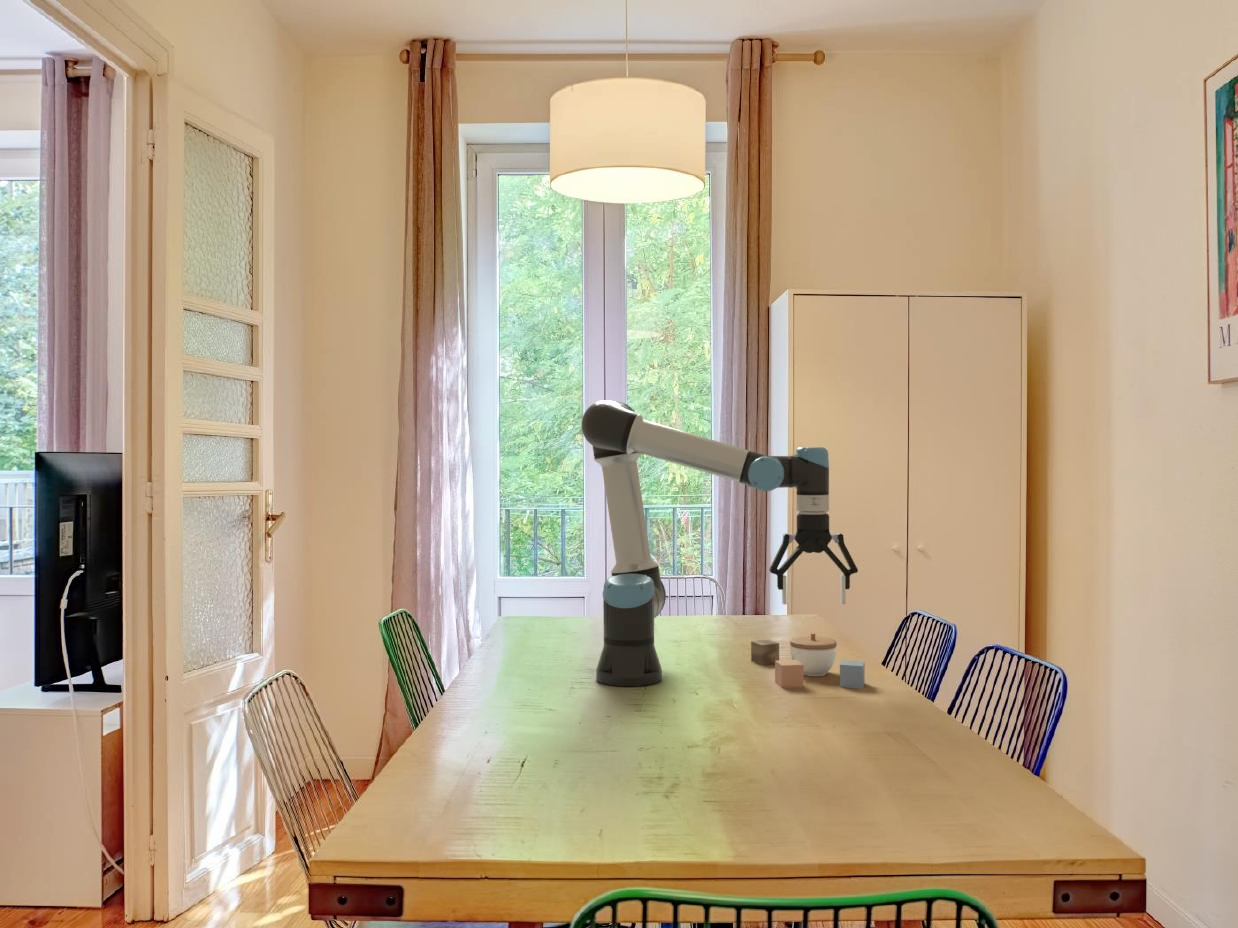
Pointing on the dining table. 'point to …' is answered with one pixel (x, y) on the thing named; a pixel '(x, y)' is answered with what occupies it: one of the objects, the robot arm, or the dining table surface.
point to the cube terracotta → (789, 673)
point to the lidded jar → (814, 653)
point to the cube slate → (852, 674)
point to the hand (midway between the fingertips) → (813, 603)
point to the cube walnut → (764, 652)
